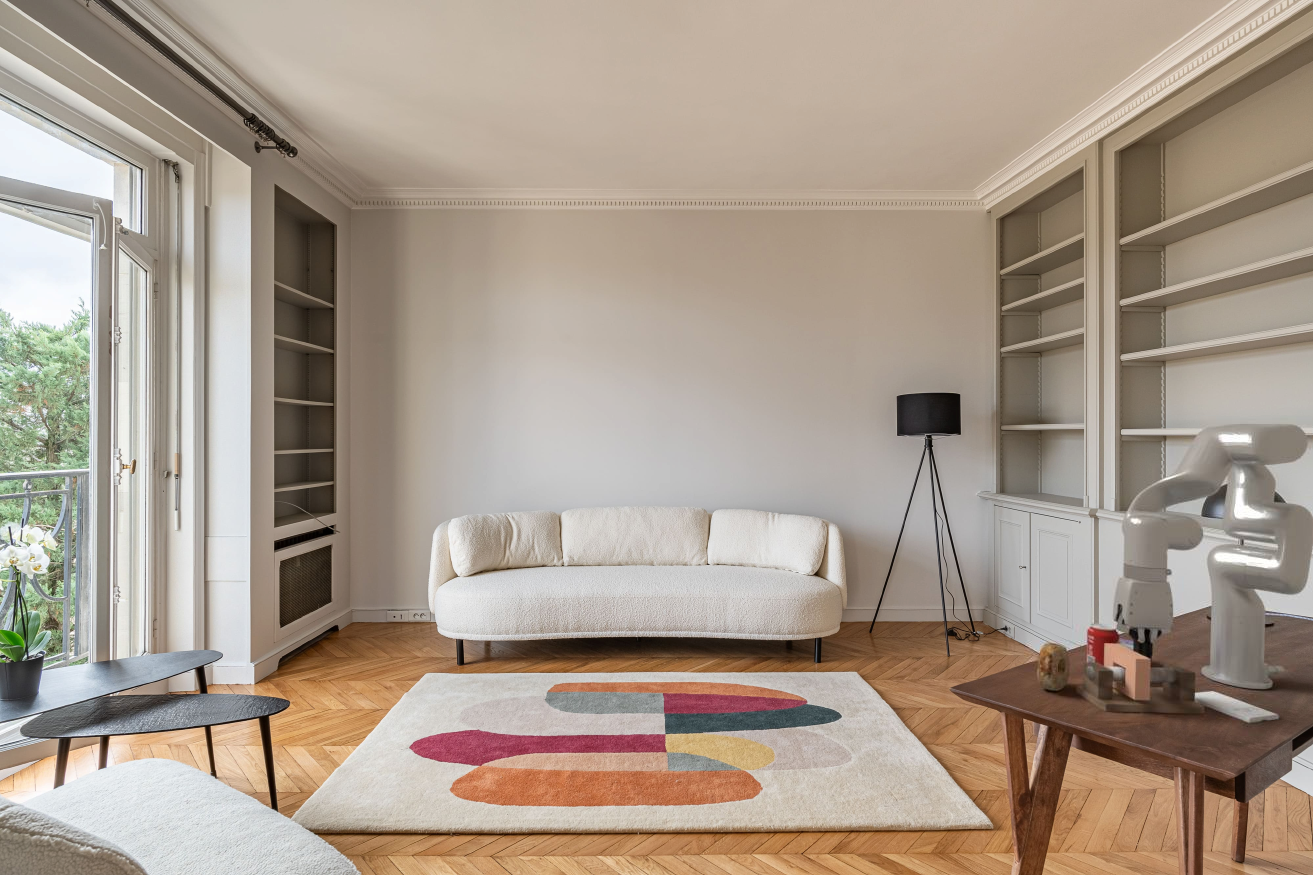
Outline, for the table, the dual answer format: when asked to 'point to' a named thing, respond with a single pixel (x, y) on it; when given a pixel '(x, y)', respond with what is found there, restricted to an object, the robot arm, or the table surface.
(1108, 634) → the beverage can
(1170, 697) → the pipe stand
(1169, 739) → the table surface
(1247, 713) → the external hard drive
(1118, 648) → the collar
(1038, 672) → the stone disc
